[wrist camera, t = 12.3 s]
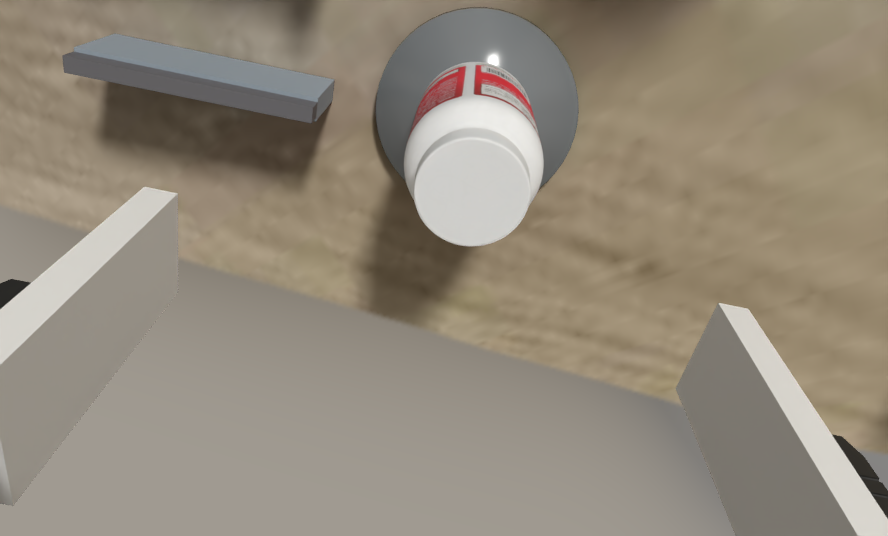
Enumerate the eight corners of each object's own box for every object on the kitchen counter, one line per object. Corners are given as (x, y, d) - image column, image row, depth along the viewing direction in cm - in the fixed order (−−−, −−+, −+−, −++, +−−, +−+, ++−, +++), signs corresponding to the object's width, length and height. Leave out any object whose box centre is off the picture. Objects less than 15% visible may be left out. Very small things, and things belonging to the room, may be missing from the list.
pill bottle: (422, 172, 37) (400, 264, 27) (414, 61, 34) (386, 121, 24) (531, 169, 36) (548, 261, 27) (533, 56, 33) (553, 115, 24)
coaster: (365, 184, 38) (363, 189, 38) (394, -14, 33) (392, -12, 32) (546, 220, 39) (547, 226, 38) (603, 31, 33) (605, 34, 33)
